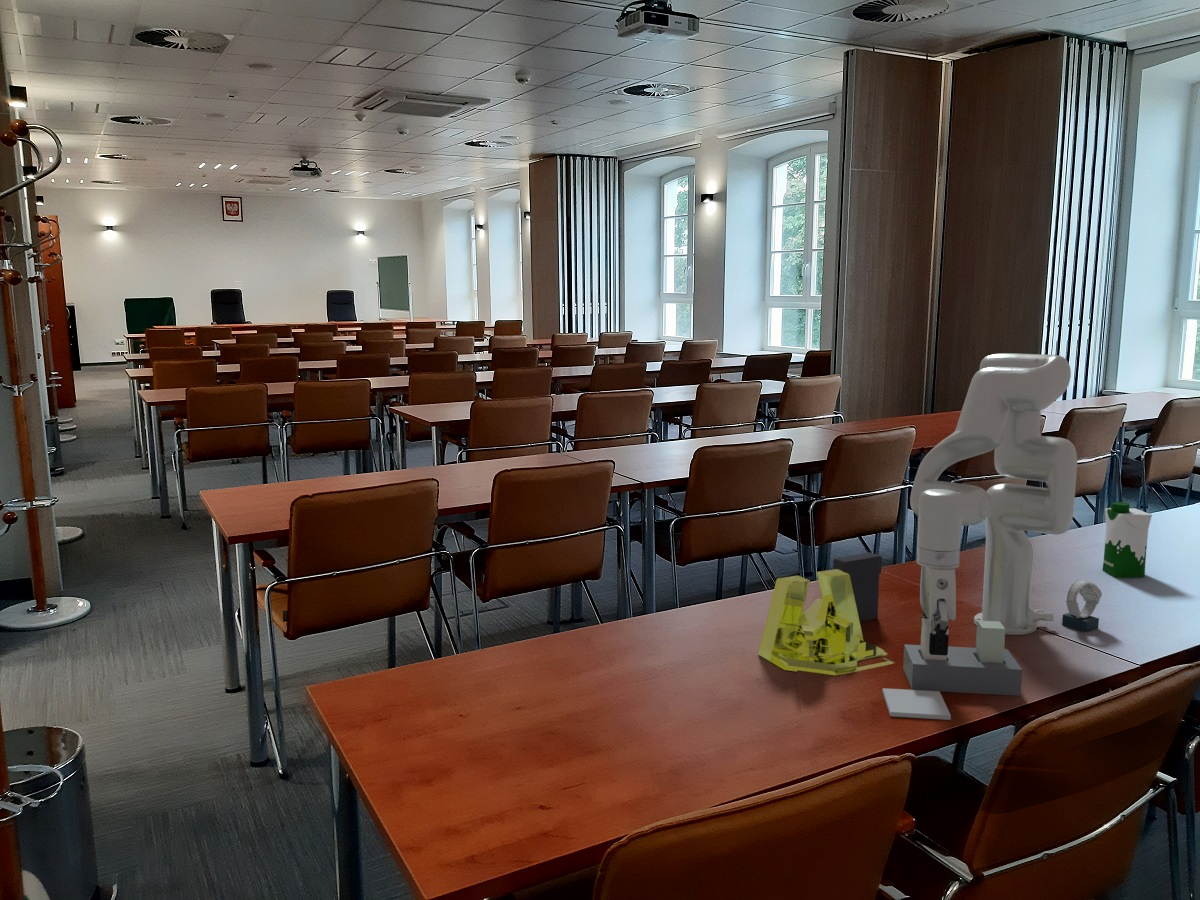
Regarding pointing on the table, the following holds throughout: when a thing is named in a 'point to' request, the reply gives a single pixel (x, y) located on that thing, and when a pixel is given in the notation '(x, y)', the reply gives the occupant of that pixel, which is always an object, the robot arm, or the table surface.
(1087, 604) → the watch
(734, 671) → the table surface
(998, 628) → the sage plug
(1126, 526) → the milk carton
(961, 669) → the plate
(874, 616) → the black block
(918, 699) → the mat
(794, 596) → the crystal
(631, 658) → the table surface
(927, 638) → the white plug
